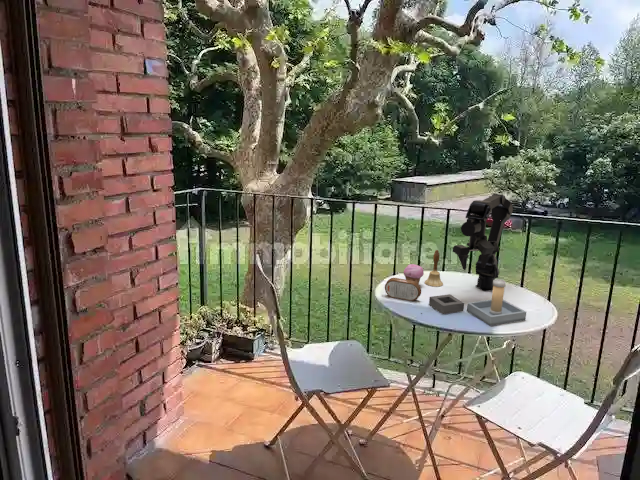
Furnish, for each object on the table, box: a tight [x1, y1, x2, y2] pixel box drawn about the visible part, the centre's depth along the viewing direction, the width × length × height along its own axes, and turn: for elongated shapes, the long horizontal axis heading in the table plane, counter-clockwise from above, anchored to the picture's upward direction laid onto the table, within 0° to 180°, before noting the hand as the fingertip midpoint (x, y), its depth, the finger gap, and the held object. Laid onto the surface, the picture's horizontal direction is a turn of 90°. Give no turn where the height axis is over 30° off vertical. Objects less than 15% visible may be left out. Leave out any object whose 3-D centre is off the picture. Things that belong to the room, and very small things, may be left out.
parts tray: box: [466, 299, 527, 327], centre depth 178 cm, size 16×14×4 cm
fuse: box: [489, 278, 507, 315], centre depth 176 cm, size 4×4×13 cm
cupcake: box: [403, 263, 425, 285], centre depth 207 cm, size 9×9×10 cm
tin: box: [384, 277, 422, 302], centre depth 193 cm, size 15×3×8 cm, turn 65°
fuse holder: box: [428, 294, 465, 315], centre depth 184 cm, size 10×10×4 cm
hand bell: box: [424, 249, 444, 288], centre depth 210 cm, size 8×8×16 cm
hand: (473, 268), depth 192 cm, fingers open, 9 cm apart
